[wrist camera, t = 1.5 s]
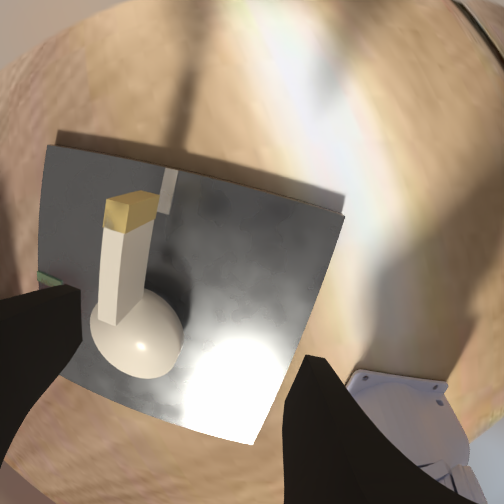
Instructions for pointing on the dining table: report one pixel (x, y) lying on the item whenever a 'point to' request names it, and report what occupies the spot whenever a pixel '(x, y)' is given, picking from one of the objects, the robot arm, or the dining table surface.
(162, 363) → the white ball on stick
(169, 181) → the plate
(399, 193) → the dining table surface
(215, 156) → the dining table surface
